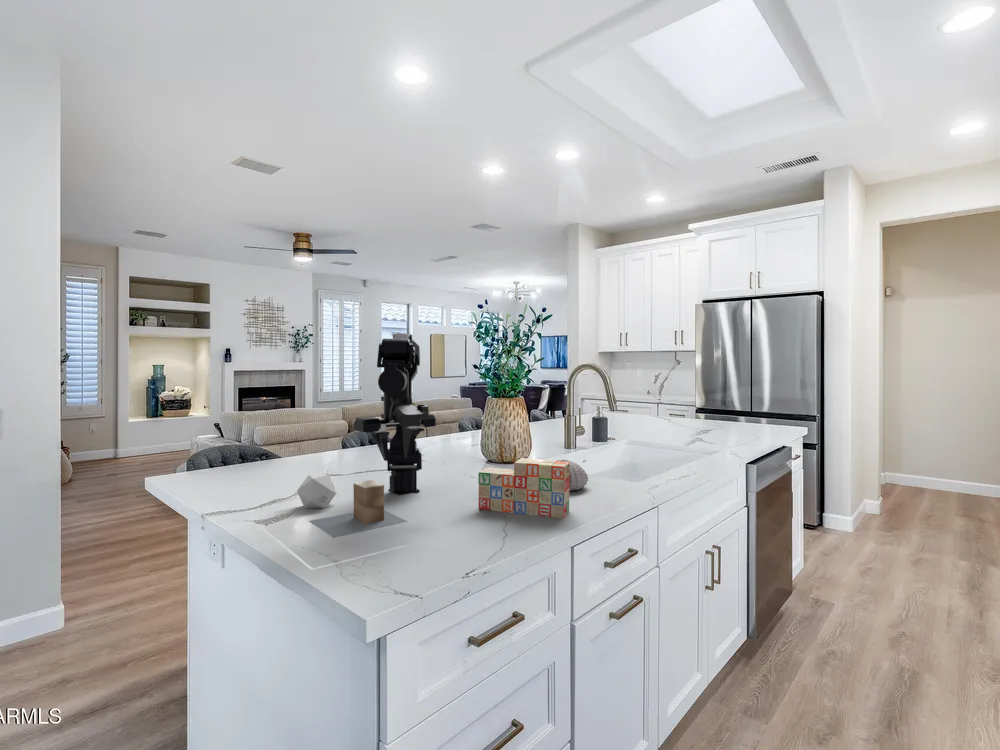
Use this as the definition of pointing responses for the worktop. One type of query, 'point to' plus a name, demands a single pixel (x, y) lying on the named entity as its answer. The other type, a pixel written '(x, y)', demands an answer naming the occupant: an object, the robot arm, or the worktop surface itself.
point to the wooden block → (368, 501)
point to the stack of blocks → (527, 488)
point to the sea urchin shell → (576, 476)
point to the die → (317, 491)
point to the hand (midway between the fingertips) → (396, 459)
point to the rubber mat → (352, 524)
